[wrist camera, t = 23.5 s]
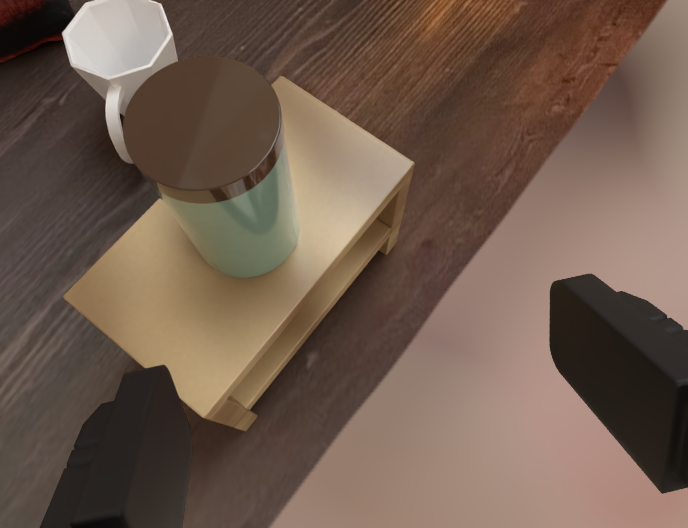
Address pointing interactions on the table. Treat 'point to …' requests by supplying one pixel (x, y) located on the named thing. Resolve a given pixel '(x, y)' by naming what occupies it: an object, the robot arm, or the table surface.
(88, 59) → the cup
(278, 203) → the jar
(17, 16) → the red carved wooden box
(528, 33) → the table surface
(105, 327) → the shelf
